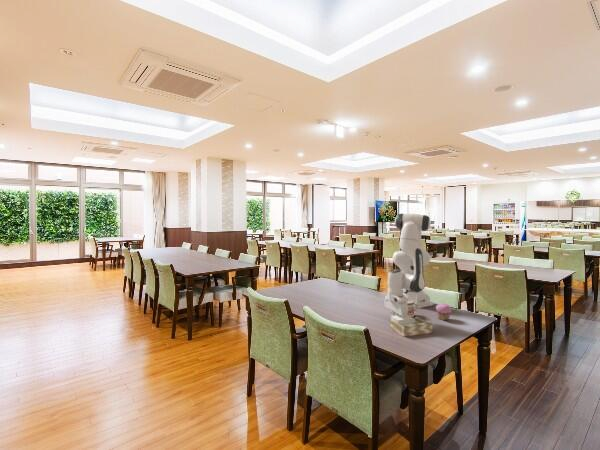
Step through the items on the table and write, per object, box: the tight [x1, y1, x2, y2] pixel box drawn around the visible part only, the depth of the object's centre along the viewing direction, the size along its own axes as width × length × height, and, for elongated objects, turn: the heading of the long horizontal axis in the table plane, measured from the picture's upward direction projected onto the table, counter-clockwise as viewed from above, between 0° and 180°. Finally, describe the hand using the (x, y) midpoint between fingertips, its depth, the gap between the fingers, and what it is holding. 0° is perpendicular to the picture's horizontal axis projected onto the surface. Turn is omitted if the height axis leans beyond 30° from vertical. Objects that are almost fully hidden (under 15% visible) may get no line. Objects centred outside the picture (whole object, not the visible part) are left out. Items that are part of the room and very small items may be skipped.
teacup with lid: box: [406, 297, 418, 318], centre depth 204 cm, size 12×9×12 cm
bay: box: [389, 316, 433, 337], centre depth 177 cm, size 18×14×6 cm
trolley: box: [390, 315, 415, 326], centre depth 186 cm, size 11×9×5 cm
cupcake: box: [435, 302, 453, 321], centre depth 194 cm, size 9×9×10 cm
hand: (395, 318), depth 192 cm, fingers closed
